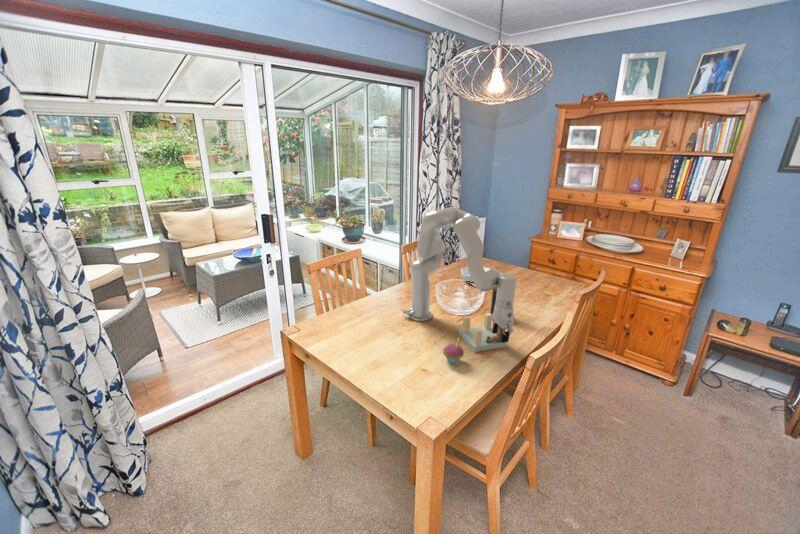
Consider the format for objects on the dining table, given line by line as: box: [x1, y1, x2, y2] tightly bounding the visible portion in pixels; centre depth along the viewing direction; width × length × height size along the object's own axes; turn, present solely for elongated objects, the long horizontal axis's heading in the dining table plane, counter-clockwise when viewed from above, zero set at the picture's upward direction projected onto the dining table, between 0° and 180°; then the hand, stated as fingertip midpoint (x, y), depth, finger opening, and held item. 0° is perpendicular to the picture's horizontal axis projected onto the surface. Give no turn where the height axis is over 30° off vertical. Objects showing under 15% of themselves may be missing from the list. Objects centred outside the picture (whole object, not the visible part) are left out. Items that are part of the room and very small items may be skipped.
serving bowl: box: [460, 266, 491, 283], centre depth 231 cm, size 21×21×7 cm
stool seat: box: [458, 312, 508, 353], centre depth 163 cm, size 16×16×10 cm
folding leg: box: [487, 325, 507, 342], centre depth 158 cm, size 8×2×7 cm, turn 104°
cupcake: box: [442, 335, 465, 365], centre depth 147 cm, size 9×8×12 cm
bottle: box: [489, 287, 497, 315], centre depth 184 cm, size 7×7×20 cm
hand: (500, 337), depth 159 cm, fingers open, 7 cm apart
